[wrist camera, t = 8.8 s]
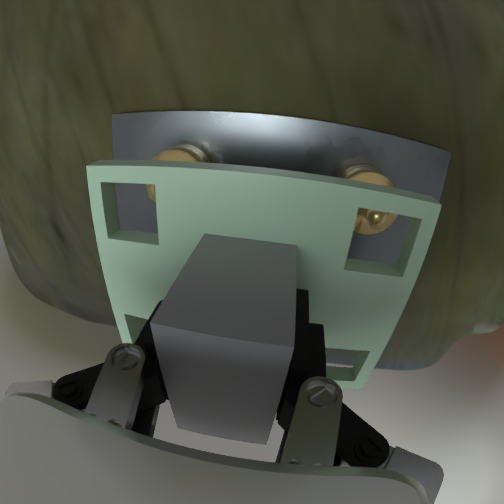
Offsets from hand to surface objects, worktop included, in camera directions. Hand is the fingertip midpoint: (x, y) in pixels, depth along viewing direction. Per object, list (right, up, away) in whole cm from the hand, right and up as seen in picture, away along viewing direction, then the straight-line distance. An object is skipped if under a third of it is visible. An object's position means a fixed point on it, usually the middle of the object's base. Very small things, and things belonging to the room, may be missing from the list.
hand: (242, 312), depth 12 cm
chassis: (+1, +4, +7) cm, 8 cm away
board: (0, +1, +2) cm, 2 cm away
